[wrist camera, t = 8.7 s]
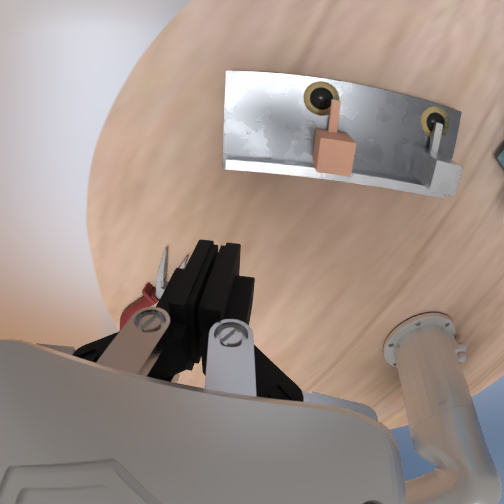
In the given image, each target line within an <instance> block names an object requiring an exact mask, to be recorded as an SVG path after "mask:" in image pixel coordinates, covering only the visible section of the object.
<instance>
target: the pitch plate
mask: <svg viewBox="0 0 504 504" xmlns="http://www.w3.org/2000/svg"><path fill="white" fill-rule="evenodd" d="M331 99H333V100H340V101H341V105H340V113H339V121H338V129H337V132H343V133H347V134H348V135H349V136H350V137H351V138H352V139H353V140H354V141H355V142H356V148H355V154H354V161H353V166H352V172H351V177H349V176H342V175H334V174H327V173H319V172H316V169H315V166H314V162H313V159H312V158H313V150H314V141H315V133H316V129H322V130H328V124H329V116H330V107H331ZM460 117H461V112H460V111H457V110H454V109H452V108H448V107H445V106H442V105H439V104H436V103H433V102H429V101H426V100H423V99H419V98H415V97H412V96H408V95H404V94H400V93H396V92H392V91H388V90H383V89H379V88H374V87H370V86H365V85H360V84H354V83H349V82H343V81H337V80H331V79H324V78H317V77H309V76H301V75H291V74H280V73H268V72H251V71H226V84H225V109H224V139H223V168H224V169H226V170H239V171H252V172H263V173H274V174H284V175H293V176H302V177H311V178H319V179H327V180H335V181H342V182H349V183H356V184H363V185H369V186H375V187H381V188H387V189H393V190H399V191H405V192H410V193H415V194H421V195H426V196H431V197H436V198H441V199H443V198H444V194H446V195H451V196H455V194H456V190H457V187H458V183H459V179H460V176H461V172H462V168H463V167H462V166H461V165H459V164H458V163H456V162H455V161H453V160H452V156H453V152H454V147H455V143H456V138H457V133H458V128H459V123H460Z"/></svg>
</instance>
